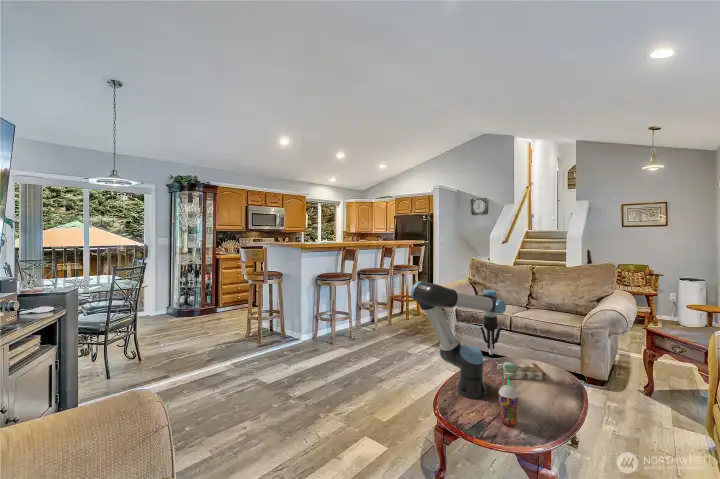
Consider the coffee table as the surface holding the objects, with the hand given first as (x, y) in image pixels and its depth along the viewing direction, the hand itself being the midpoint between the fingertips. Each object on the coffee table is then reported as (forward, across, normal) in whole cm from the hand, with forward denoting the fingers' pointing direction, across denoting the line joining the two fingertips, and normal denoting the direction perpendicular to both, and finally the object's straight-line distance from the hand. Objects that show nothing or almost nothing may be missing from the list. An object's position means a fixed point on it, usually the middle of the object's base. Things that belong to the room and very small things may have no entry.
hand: (490, 353), depth 207 cm
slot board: (+12, +18, 0) cm, 21 cm away
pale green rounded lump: (+12, +11, 0) cm, 16 cm away
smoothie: (+12, -7, -55) cm, 57 cm away
